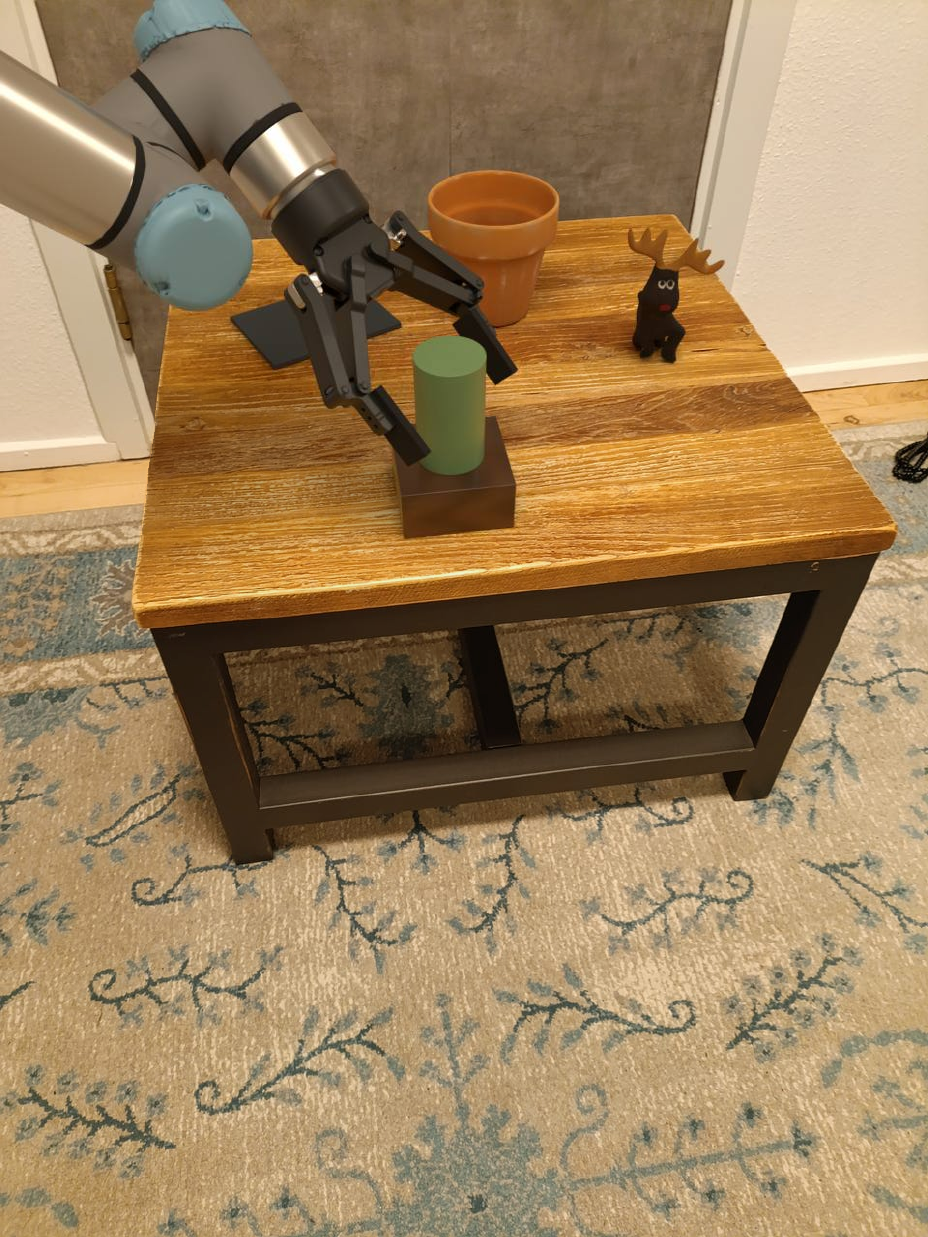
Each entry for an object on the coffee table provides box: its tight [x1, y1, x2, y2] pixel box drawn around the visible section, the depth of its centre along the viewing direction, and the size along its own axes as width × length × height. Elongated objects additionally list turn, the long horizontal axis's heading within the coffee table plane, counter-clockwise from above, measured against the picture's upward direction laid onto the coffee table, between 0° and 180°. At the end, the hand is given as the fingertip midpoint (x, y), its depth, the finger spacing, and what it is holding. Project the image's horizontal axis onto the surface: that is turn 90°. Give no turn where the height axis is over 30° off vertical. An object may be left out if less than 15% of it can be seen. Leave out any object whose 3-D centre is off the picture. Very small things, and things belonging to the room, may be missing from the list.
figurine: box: [627, 227, 726, 363], centre depth 94 cm, size 11×7×15 cm
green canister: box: [412, 335, 487, 475], centre depth 76 cm, size 6×6×10 cm
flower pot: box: [427, 169, 561, 328], centre depth 101 cm, size 14×14×13 cm
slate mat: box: [229, 293, 402, 371], centre depth 103 cm, size 16×12×1 cm
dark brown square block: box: [390, 415, 517, 539], centre depth 82 cm, size 10×10×5 cm
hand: (465, 416), depth 76 cm, fingers open, 13 cm apart
